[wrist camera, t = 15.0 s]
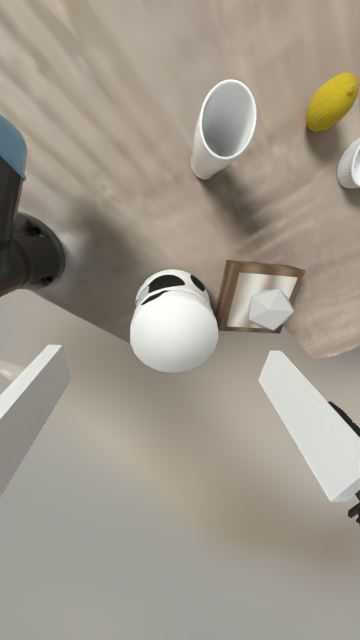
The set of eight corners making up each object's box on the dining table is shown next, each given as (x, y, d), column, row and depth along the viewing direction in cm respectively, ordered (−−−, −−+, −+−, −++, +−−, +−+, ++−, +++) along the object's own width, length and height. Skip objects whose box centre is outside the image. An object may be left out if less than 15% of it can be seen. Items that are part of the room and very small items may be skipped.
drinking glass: (226, 175, 35) (262, 145, 22) (193, 190, 36) (209, 171, 22) (216, 130, 32) (251, 63, 19) (181, 148, 33) (190, 96, 19)
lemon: (330, 92, 30) (380, 52, 23) (323, 136, 33) (365, 112, 26) (298, 98, 31) (337, 60, 24) (293, 142, 33) (327, 119, 26)
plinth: (214, 320, 50) (219, 331, 44) (226, 260, 42) (235, 265, 37) (269, 323, 51) (280, 334, 46) (290, 265, 44) (307, 271, 39)
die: (237, 290, 40) (243, 330, 36) (277, 272, 35) (289, 317, 31) (254, 303, 45) (261, 340, 41) (292, 289, 40) (304, 330, 36)
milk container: (206, 325, 50) (224, 372, 35) (144, 332, 50) (134, 382, 34) (204, 262, 42) (227, 284, 26) (131, 269, 42) (109, 297, 26)
